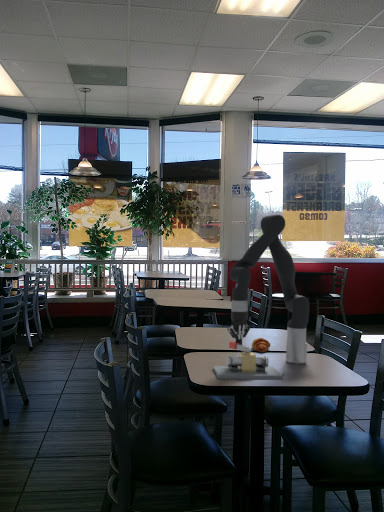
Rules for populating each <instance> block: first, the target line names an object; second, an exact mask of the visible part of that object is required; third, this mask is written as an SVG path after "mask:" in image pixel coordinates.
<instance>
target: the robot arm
mask: <svg viewBox="0 0 384 512" xmlns="http://www.w3.org/2000/svg"><path fill="white" fill-rule="evenodd" d="M260 228H261V231H262V234H261V235H260V236H259V238H258V239H256V240H255V241H254V242H253V243H252V244H251V245H250V246H249V247H248V249H247V250H246V251H245V253H244V255H243V256H242V257H241V258H240V259H239V260H238V261H237V262H236V263H235V264H234V265H233V266H232V267H231V269H230V270H229V273H228V274H229V279H230V281H232V282H234V283H237V285H236V287H233V288H232V291H231V311H230V312H231V315H230V319H231V324H230V327H227V332H228V334H230V336H231V337H232V339H235V342H237V343H239V344H240V345H243V339H244V338H246V337H247V335H248V333H249V331H250V330H251V326H250V325H248V322H247V320H248V313H249V312H248V310H249V309H248V308H249V307H248V290H249V287H250V283H251V280H252V279H251V276H252V275H251V271H250V269H252V268H255V266H256V265H257V263H258V262H259V261H260V259H261V257H262V255H263V254H264V253H265V251H267V249H268V248H269V252H270V254H271V258H272V260H273V265H274V268H275V271H276V274H277V277H278V281H279V283H280V286H281V290H282V293H283V294H282V295H283V300H284V305H285V307H286V309H287V311H289V312H291V319H290V320H288V321H287V324H286V326H287V329H286V349H285V350H286V352H285V353H286V355H285V357H286V358H285V362H286V363H289V364H299V365H301V364H307V359H308V358H307V357H308V343H307V341H306V340H307V325H308V322H309V317H310V316H309V315H310V301H309V300H308V298H307V297H305V296H303V295H300V294H299V293H298V291H297V287H296V283H295V280H296V279H295V278H296V267H295V264H294V260H293V257H292V255H291V253H290V252H289V250H287V248H286V247H285V246H284V244H283V243H282V241H281V240H280V238H279V235H280V234H281V233H282V232H283V231H284V229H285V228H286V220H285V218H284V216H283V215H281V214H277V213H275V214H271V215H270V214H269V215H265V216H264V217H262V218H261V220H260Z"/></svg>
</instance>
